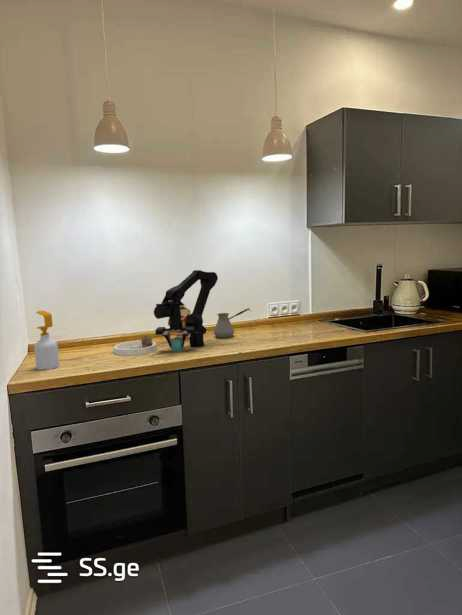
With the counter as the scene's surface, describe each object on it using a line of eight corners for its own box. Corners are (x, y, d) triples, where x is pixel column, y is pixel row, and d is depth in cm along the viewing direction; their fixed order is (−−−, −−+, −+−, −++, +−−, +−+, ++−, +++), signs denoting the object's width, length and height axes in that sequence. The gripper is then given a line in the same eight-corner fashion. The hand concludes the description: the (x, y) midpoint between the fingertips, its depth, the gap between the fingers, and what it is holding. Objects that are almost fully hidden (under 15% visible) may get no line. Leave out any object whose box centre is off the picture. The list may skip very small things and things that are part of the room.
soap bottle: (46, 364, 180) (41, 309, 177) (64, 364, 177) (58, 309, 174) (31, 369, 171) (25, 312, 168) (49, 370, 169) (43, 312, 165)
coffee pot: (215, 339, 216) (214, 312, 214) (212, 335, 227) (210, 309, 225) (254, 336, 221) (253, 309, 219) (248, 332, 232) (247, 306, 230)
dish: (159, 345, 209) (159, 339, 208) (151, 354, 189) (151, 348, 188) (120, 346, 209) (120, 341, 208) (109, 356, 189) (108, 350, 189)
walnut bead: (153, 347, 201) (152, 335, 200) (151, 349, 196) (150, 337, 195) (143, 347, 201) (142, 335, 200) (140, 349, 196) (140, 337, 195)
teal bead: (182, 349, 197) (182, 337, 196) (181, 351, 192) (180, 339, 191) (172, 349, 197) (171, 337, 196) (171, 352, 192) (170, 339, 191)
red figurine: (190, 341, 215) (188, 304, 212) (174, 341, 217) (172, 304, 214) (195, 337, 224) (193, 302, 221) (180, 337, 226) (177, 302, 223)
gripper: (196, 312, 200) (197, 343, 202) (158, 314, 200) (160, 344, 203) (193, 315, 189) (195, 348, 191) (154, 317, 189) (156, 350, 191)
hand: (176, 347), depth 194 cm, fingers open, 5 cm apart
